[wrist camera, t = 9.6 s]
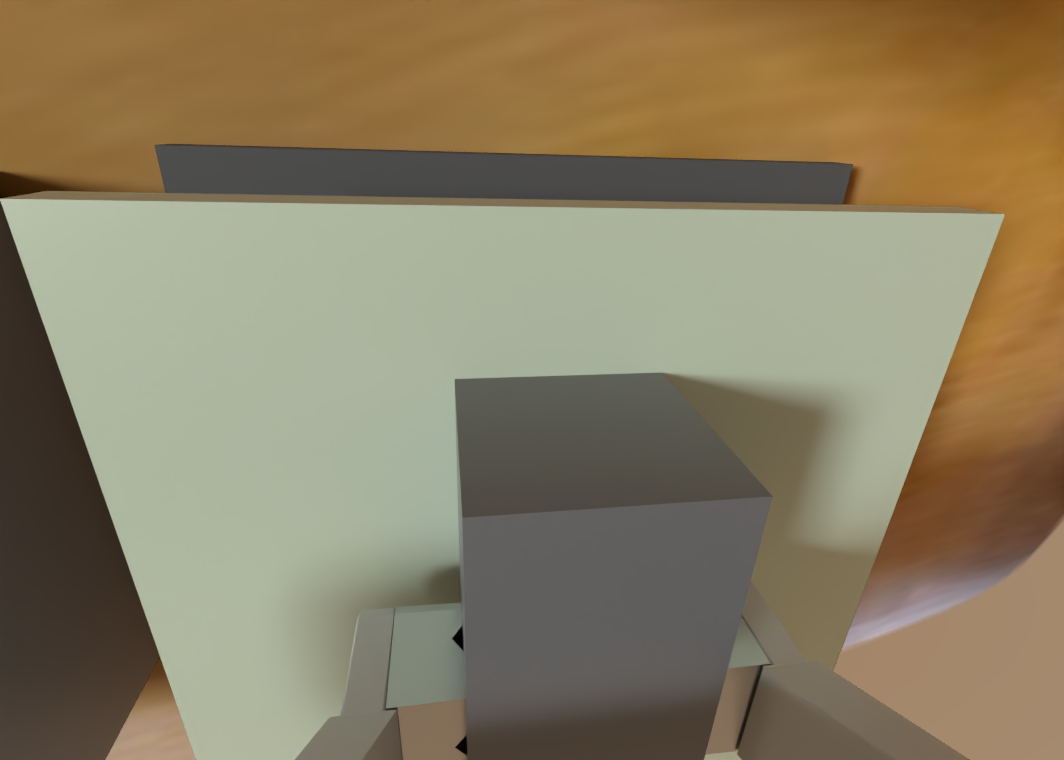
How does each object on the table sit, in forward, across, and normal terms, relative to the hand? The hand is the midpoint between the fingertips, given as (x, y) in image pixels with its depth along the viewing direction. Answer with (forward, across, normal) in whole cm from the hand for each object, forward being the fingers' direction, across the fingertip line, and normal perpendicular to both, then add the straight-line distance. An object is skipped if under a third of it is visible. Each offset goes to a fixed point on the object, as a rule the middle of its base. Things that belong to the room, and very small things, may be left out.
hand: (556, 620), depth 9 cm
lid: (+2, 0, 0) cm, 2 cm away
